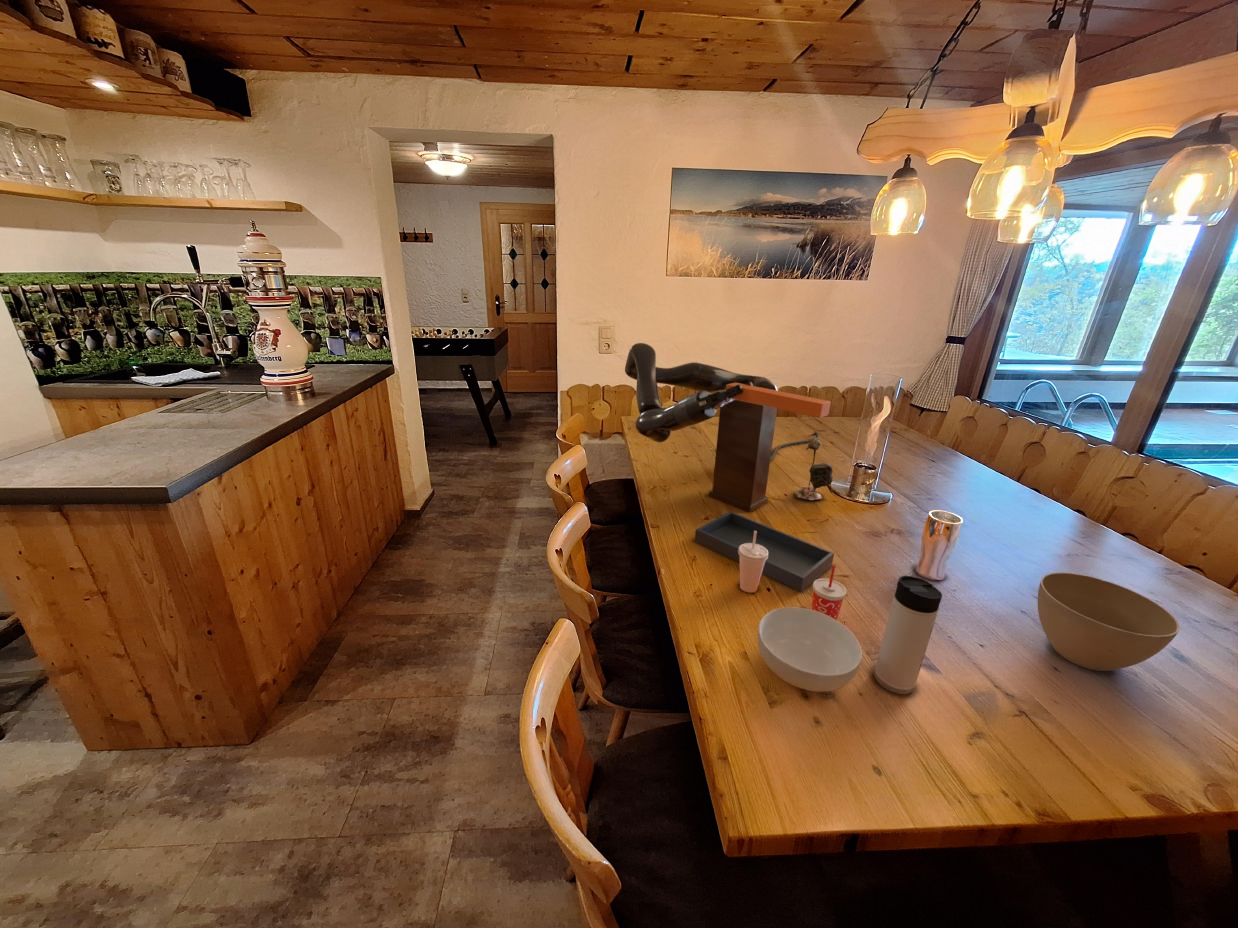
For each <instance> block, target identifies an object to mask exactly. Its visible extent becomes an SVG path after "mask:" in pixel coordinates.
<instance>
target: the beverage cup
mask: <svg viewBox="0 0 1238 928" xmlns="http://www.w3.org/2000/svg"><path fill="white" fill-rule="evenodd" d="M835 570H836V564H832V566H831V572H830V577H829V578H817V579H815V580H814V581H813V582H812V585H811V586H812V600H811V608H810V609H811V610H815V611H818V612H821V613H823V614H826V615H828V616H830V617H832V618H834V619H835V620H837V621H838V619H839V615H840V612H841V608H842V605H843V601H844V599H845V598H846V596H847V593H848V592H847V588H846V587H845V586H844V585H843V584H842V583H841V582H839V581H836V580H834V574H835Z"/></svg>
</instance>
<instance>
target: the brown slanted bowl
mask: <svg viewBox="0 0 1238 928" xmlns="http://www.w3.org/2000/svg"><path fill="white" fill-rule="evenodd" d="M1037 591H1038V592H1037V612H1038V617H1039V622H1040V625H1041V628H1042V630H1043V632H1044V634H1045V636H1046V638H1047V640H1048V641H1049V643H1050V645H1051V646H1052V648H1053V649H1054V650H1055V652H1057V653H1058V655H1060V656H1061V657H1062V658H1065V659H1066V660H1068V661H1069V662H1071V663H1073V664H1074V665H1077V666H1079V667H1082V668H1085V669H1088V670H1091V671H1098V672H1104V671H1105V672H1108V671H1109V672H1110V671H1116V670H1121V669H1125V668H1129V667H1133V666H1136V665H1138V664H1140V663H1143V662H1145V661H1147V660H1149V659H1151V658H1152V657H1154V656H1155V655H1157V654H1159V653H1160V652H1161V651H1162V650H1164V649H1165V648H1166V647H1167V646H1168V645H1170V643H1171V642H1172V641H1173V640H1174V639H1175V638H1176V636H1177V635H1178V633H1179V632H1180V629H1181V627H1180V623H1179V622H1178V619H1177V618H1176V617H1175V616H1174V615H1173V614H1172V613H1171V612H1170V611H1169V610H1168V609H1166V608H1165V607H1163V606H1161V605H1160V604H1159V603H1157V602H1156V601H1154V600H1152V599H1150V598H1149V597H1147V596H1145V595H1142V594H1140V593H1139V592H1136V591H1135V590H1132V589H1130V588H1128V587H1125V586H1122V585H1120V584H1117V583H1114V582H1112V581H1108V580H1104V579H1102V578H1099V577H1094V576H1090V575H1085V574H1081V573H1080V574H1079V573H1074V572H1073V573H1072V572H1052V573H1047V574H1045V575H1044V576H1042V578H1041V579H1040V582H1039V586H1038V590H1037Z"/></svg>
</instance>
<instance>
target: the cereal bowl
mask: <svg viewBox="0 0 1238 928" xmlns="http://www.w3.org/2000/svg"><path fill="white" fill-rule="evenodd" d="M756 639H757V647H758V650H759V654H760V656H761V657H762V660H763V662H764V663H765V664H766V666H767V667H768V668H769V669H770V670H771V671H772V673H774V674H775V675H776V676H777V677H778V678H779V679H781V680H783V681H784V682H785V683H787V684H789V685H792V686H793V687H796V688H799V689H802V690H806V691H811V692H820V693H821V692H822V693H823V692H831V691H836V690H838V689H840V688H843V687H845V686H847V685H848V684H849V683H850V682H851V681H852V680H853V679H854V678H855V677H856V675H857V673H858V672H859V668H860V666H861V663H862V660H863V650H862V647H861V644H860V642H859V640H858V639H857V637H856V635H854V633H853V632H852V631H851V630H850V629H849V628H848V627H847V626H845V625H844V624H843V623H841V622H840V621H839V620H838V619H837V620H835V619H834V618H832V617H830V616H828V615H826V614H823V613H821V612H818V611H815V610H811V608H806V607H800V606H783V607H778V608H774V609H773V610H770V611H768V612H767V613H766V614H764V615H763V617H762V618H761V619H760V621H759V623H758V626H757V637H756Z"/></svg>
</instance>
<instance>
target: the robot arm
mask: <svg viewBox="0 0 1238 928" xmlns="http://www.w3.org/2000/svg"><path fill="white" fill-rule="evenodd" d="M656 362H657V353H656V350H655V349H654V347H653V346H651V345H650V344H649V343H646V342H645V343H644V342H637V343H635V344H633V345H632V346H630V348H629V351H628V354H627V358H626V362H625V366H624V372H625V374H626V375H627V376H628V377H629V378H630V379H633V380H636V389H635V390H636V391H635V393H636V395H635V396H636V403H637V410H638V413H639V416H638V417H637V418H636V420H635V429H636V431H637V433H638V434H639V435H641V436H643V437H646V438H648V439H650V440H651V441H653V442H655V443H664V442H666V441H667V440H668V439H669V438H670V436H671V433H672V432H678V431H680V430H682V429H685V428H687V427H691V426H696V425H697V424H699V423H703V422H705V421H708V420H710V419H713V418H714V417H715V416H716V414H717V409H720V407H723V406H725V404H728V403H730V402H733V401H735V400H736V399H733V398H732V397H734V396H737V395H739V394H742V393H743V390H742V386H741V385H740V384H739V385H736V386H734V387H731V388H729V389H726V385H727V384H731V383H741V384H746V385H751V386H756V387H761V388H766V389H771V390H776V391H779V390H778V387H777V385H776V384H775V383H774V382H773V381H771V380H770V379H769V378H767V377H765V376H759V375H750V374H743V373H742V374H741V373H736V372H732V371H730V370H727V369H724V368H720V367H717V366H714V365H710V364H705V363H701V362H697V361H696V362H695V361H694V362H693V361H692V362H687V363H683V364H679V365H676V366H673V367H660V366H659V367H657V365H656ZM658 384H661V385H669V386H673V387H678V388H683V389H687V390H690V391H695V393H693V394H690V395H689V396H686V397H685V398H682V399H681V400H679V401H678V402H676V403H674V404H672V405H670V406H666V407H663V406H662V402H661V397H660V392H659V387H658ZM728 400H729V401H728ZM813 435H814V436H815V438H816V439H817V440H819V433H818V432H817V431H814V433H813ZM811 440H812V438H811V439H805V440H800V441H799V440H798V441H792V442H788V443H784V444H780V445H778V446H776V447H775V448H774V449H773V451H772V452H771V458H770V461H772V459H773V458H774V456H775V455H776V452H777V451H779V450H780V449H781V448H785V447H788V446H792V445H799V444H800V445H801V444H805V443H809V442H810V441H811Z"/></svg>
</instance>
